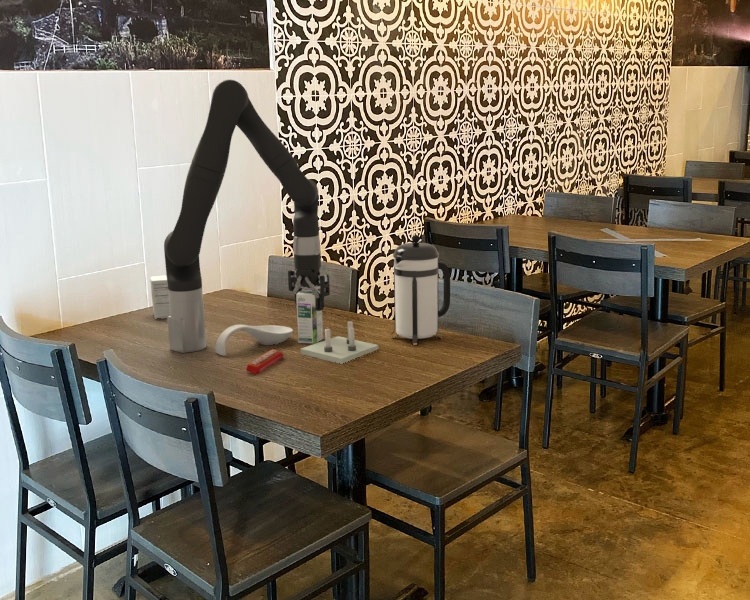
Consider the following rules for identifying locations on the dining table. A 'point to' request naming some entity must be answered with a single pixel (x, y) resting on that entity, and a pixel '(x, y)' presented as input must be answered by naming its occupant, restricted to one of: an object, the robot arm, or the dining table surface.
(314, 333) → the syrup box
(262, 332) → the spoon rest
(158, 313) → the mini drawer cabinet
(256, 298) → the dining table surface
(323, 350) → the pale green square stand
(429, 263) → the coffee press
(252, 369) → the candy bar
